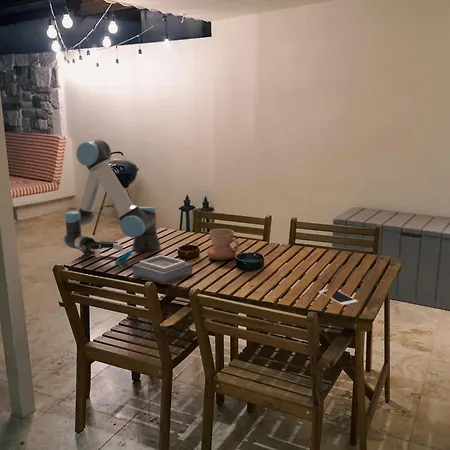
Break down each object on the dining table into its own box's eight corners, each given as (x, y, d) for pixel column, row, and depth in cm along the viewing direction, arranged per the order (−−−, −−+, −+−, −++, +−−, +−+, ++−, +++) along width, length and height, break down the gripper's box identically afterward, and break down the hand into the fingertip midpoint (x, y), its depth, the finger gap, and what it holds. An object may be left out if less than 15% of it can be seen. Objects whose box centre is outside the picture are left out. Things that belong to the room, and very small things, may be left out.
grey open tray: (162, 266, 240) (161, 253, 239) (192, 274, 228) (192, 260, 227) (133, 275, 227) (132, 261, 225) (163, 284, 215) (163, 270, 213)
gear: (125, 258, 248) (133, 246, 242) (132, 267, 248) (141, 256, 241) (109, 266, 240) (117, 255, 234) (116, 275, 239) (125, 264, 233)
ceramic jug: (199, 259, 250) (199, 232, 247) (214, 252, 263) (214, 226, 259) (231, 265, 242) (231, 237, 239) (244, 257, 254) (245, 230, 251)
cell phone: (342, 306, 191) (342, 304, 191) (318, 292, 206) (318, 291, 206) (358, 302, 195) (358, 301, 194) (333, 289, 209) (333, 288, 209)
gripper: (105, 245, 269) (131, 252, 256) (64, 256, 250) (90, 264, 237) (104, 232, 267) (130, 238, 254) (63, 241, 248) (89, 248, 235)
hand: (111, 250), depth 245 cm, fingers open, 13 cm apart
